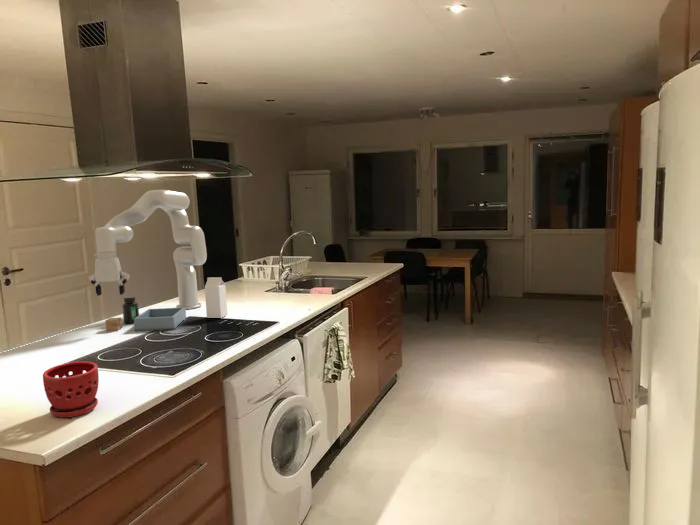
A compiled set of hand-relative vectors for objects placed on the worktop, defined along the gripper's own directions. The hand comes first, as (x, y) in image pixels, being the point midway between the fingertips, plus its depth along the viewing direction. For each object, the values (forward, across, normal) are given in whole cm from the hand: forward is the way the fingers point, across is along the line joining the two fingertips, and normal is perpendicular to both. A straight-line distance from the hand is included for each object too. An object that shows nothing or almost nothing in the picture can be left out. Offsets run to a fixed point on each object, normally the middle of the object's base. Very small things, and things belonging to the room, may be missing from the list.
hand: (110, 294), depth 235 cm
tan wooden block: (+16, 0, 0) cm, 16 cm away
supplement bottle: (+16, +3, +13) cm, 21 cm away
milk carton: (+16, +42, +15) cm, 48 cm away
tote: (+16, +19, +5) cm, 25 cm away
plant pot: (+17, +25, -94) cm, 98 cm away
